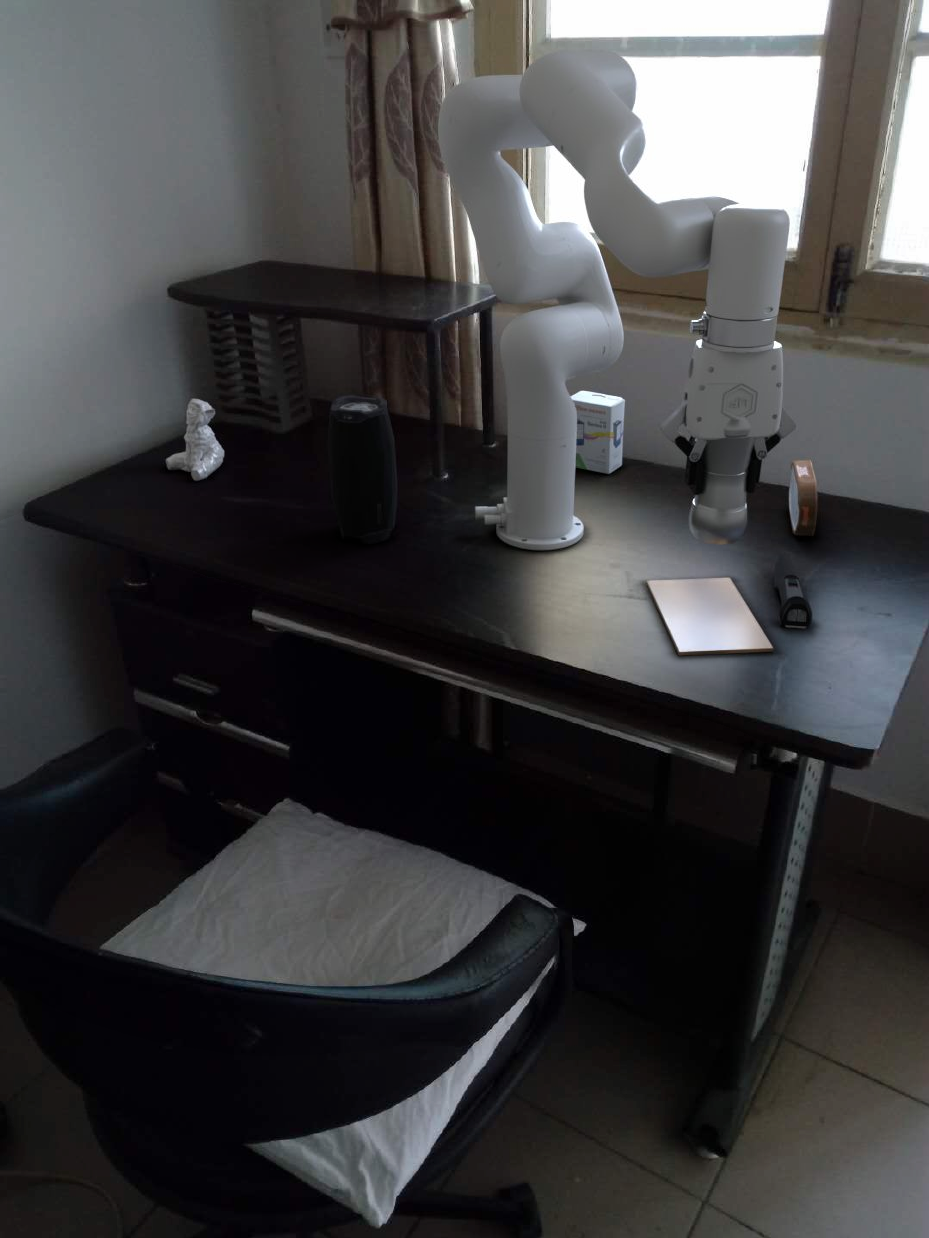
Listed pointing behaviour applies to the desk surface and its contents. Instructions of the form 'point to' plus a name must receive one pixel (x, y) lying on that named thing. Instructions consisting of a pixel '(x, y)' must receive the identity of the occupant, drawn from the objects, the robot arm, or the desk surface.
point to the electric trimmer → (791, 593)
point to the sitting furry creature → (198, 443)
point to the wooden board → (707, 617)
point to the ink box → (599, 431)
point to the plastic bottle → (723, 486)
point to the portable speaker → (362, 468)
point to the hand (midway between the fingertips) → (720, 488)
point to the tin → (803, 498)
